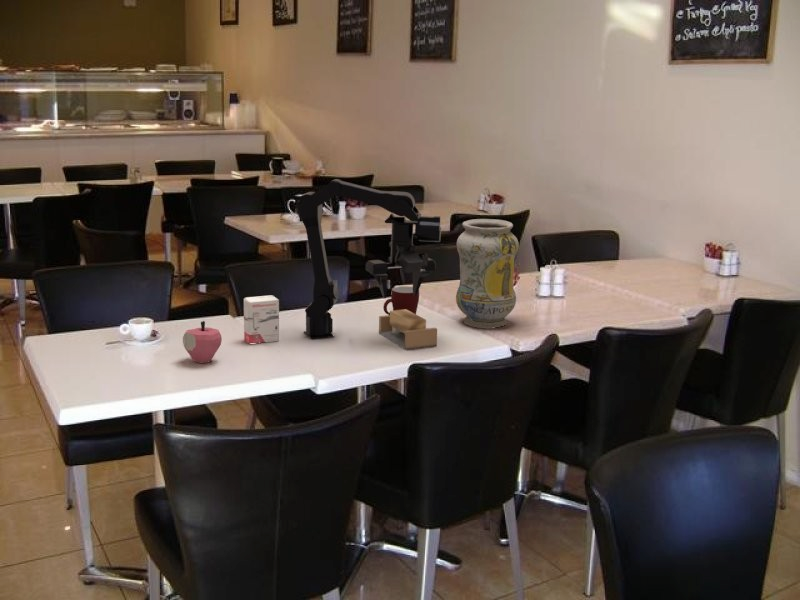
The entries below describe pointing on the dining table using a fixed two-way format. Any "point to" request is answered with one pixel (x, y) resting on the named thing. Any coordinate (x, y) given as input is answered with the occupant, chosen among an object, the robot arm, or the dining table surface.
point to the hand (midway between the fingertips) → (399, 296)
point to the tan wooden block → (406, 320)
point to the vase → (486, 272)
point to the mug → (403, 300)
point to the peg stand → (408, 335)
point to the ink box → (261, 319)
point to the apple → (202, 343)
